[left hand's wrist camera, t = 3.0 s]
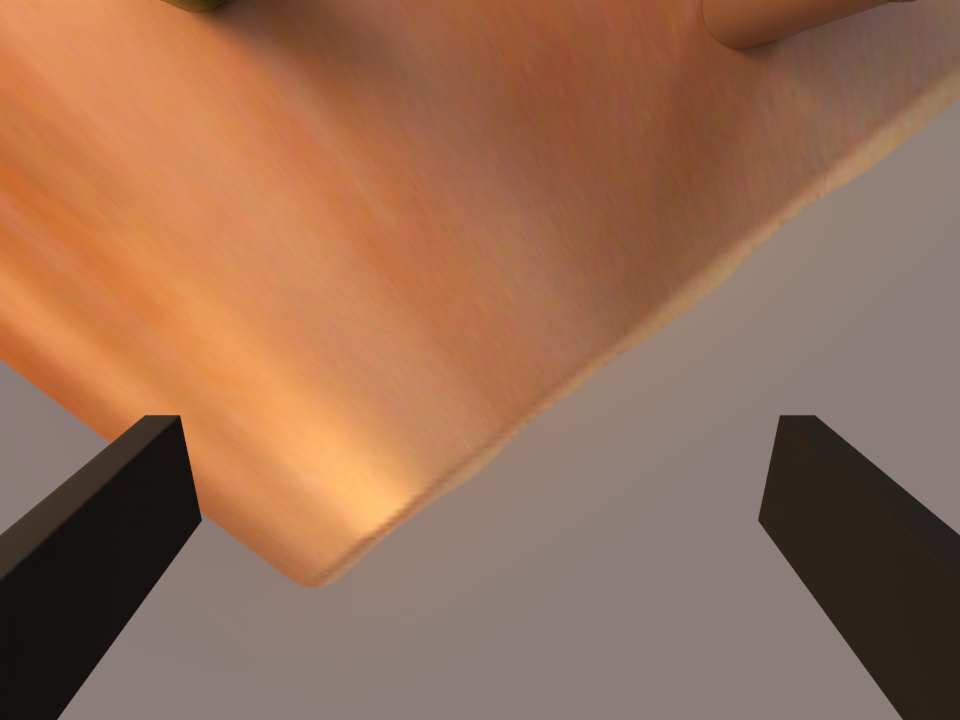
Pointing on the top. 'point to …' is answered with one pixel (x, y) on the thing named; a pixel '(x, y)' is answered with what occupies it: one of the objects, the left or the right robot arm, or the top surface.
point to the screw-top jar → (773, 18)
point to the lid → (899, 0)
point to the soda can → (195, 4)
